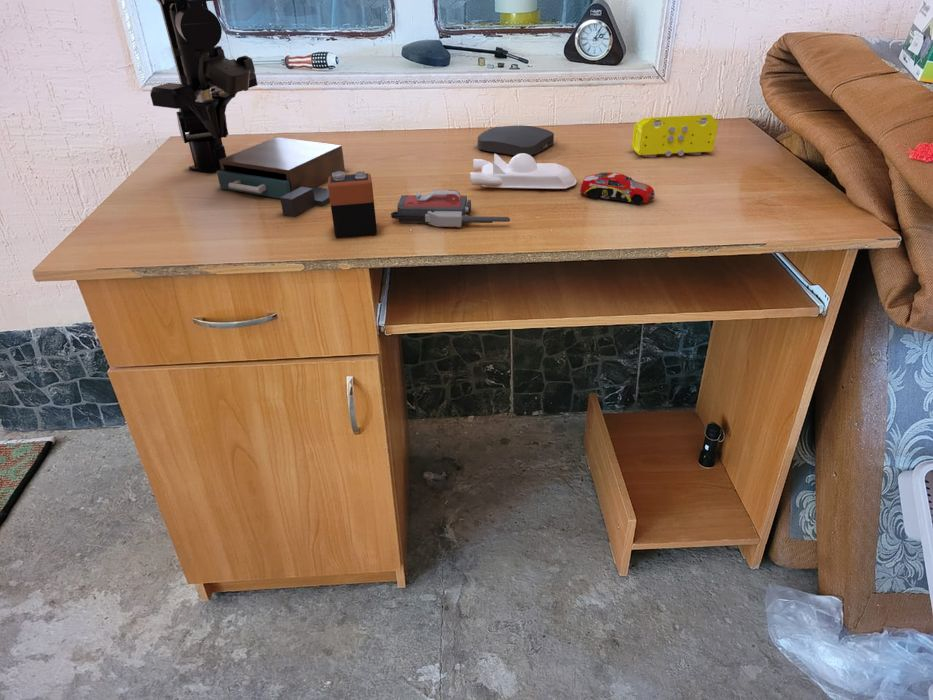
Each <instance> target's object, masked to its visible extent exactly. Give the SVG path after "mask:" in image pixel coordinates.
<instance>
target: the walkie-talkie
mask: <svg viewBox="0 0 933 700" xmlns="http://www.w3.org/2000/svg"><path fill="white" fill-rule="evenodd" d="M396 207H397V211H393V212H392V211H391V213H390V217H391V219H393V220H397V221H398V222H399V223H402V224H428V225H432V226H434V227H439V228H440V227H441V228H443V227H444V228H446V227H447V228H462V225H465V224H468V225H469V224H470V223H471V224H492V223H496V222H498V223H500V222H503V223H504V222H505V223H506V222H509V223H510V220H511V219H510V217H509V216H479V215H478V216H470V215H468V214H467V213H471V211H472V199H468V195H462V194H461V193H460V191H458V190H455V189H448V190H446V189H434V190H433V191H431V192H430V193H428V194H422V192H421V191H417V192H416V194H401V196H400V198H399V200H398V202H397V206H396Z"/></svg>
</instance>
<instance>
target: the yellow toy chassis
mask: <svg viewBox="0 0 933 700" xmlns="http://www.w3.org/2000/svg"><path fill="white" fill-rule="evenodd" d="M718 126H719V121H718V120H717V119H716V118H715V117H714V116H713V115H712V114H694V115H693V114H692V115H691V114H690V115H674V116H673V115H671V116H651V117H643V118H641V119H640V120H639V121H637V122H636V123H634V125H633V133H632V139H631V149H632V150H634V152H635V153H636V154H637V155H638V156H642V157H644V158H656V157H658V155H664V156H665V157H671V155H672V154H677V155H678V156H680V157H682V156H684V154H687V155H690V156H700V155H702V153H708V152H714V147H715V141H716V136H717V131H718Z"/></svg>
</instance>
